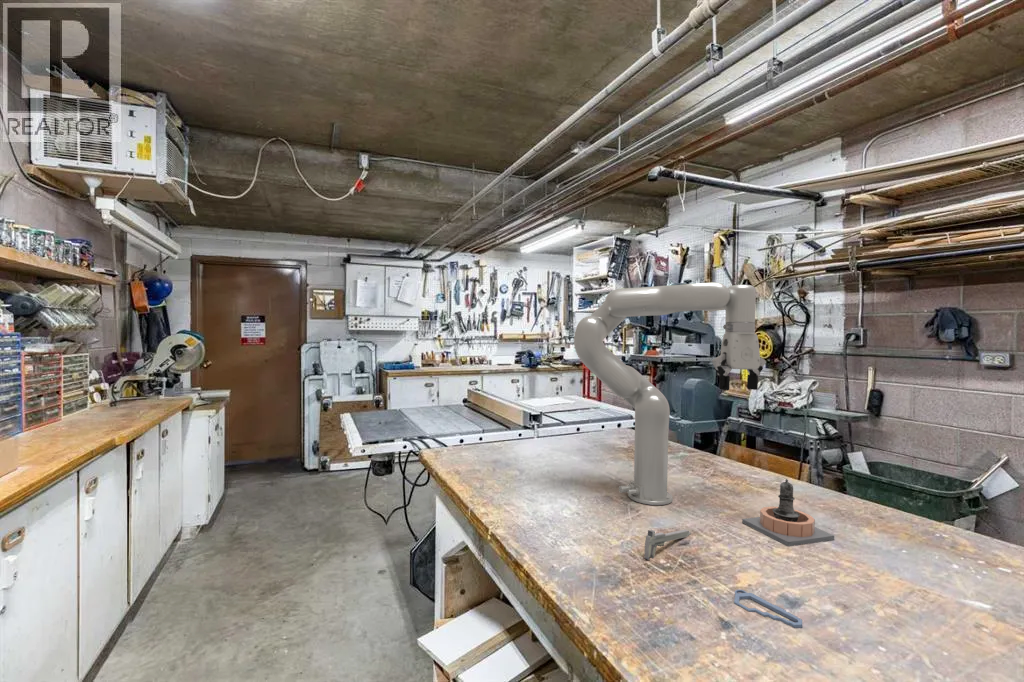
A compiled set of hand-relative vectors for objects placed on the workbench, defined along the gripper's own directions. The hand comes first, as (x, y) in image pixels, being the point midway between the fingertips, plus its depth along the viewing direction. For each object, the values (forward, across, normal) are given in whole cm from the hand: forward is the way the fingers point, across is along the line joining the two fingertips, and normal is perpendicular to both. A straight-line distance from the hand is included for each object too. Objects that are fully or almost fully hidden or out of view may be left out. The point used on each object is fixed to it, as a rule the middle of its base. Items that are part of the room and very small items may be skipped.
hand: (738, 389), depth 132 cm
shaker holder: (+33, 0, -17) cm, 37 cm away
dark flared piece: (+32, 0, -17) cm, 37 cm away
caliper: (+34, -34, -17) cm, 51 cm away
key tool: (+34, -33, -43) cm, 64 cm away
